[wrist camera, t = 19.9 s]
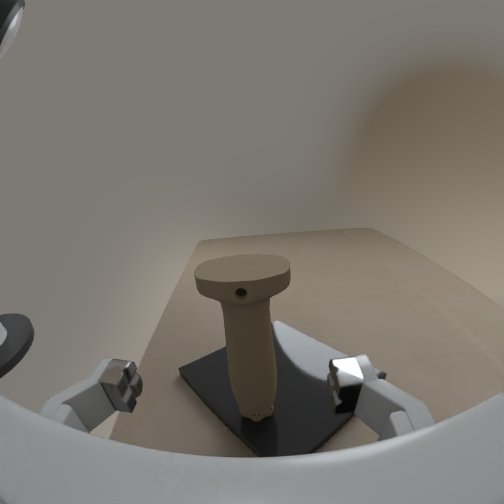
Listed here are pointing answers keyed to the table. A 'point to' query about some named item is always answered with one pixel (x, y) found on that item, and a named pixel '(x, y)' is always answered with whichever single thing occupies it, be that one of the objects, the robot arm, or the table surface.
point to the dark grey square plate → (277, 395)
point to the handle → (247, 323)
